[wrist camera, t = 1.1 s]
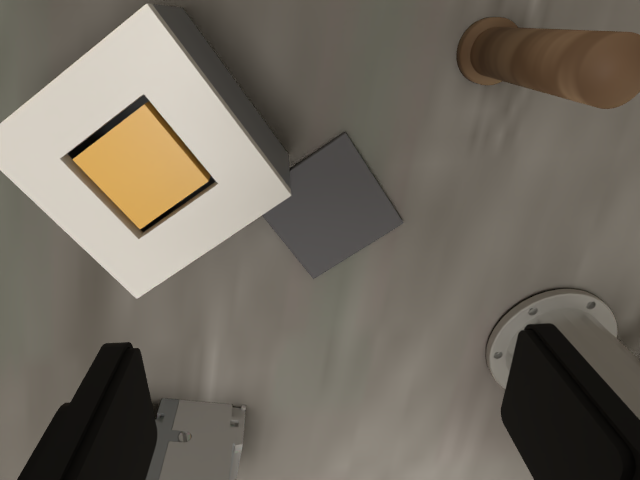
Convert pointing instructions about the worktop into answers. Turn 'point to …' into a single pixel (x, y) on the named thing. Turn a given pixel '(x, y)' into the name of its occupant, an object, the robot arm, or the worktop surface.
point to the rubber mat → (332, 208)
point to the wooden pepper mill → (553, 61)
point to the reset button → (143, 166)
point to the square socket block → (185, 119)
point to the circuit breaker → (197, 441)
